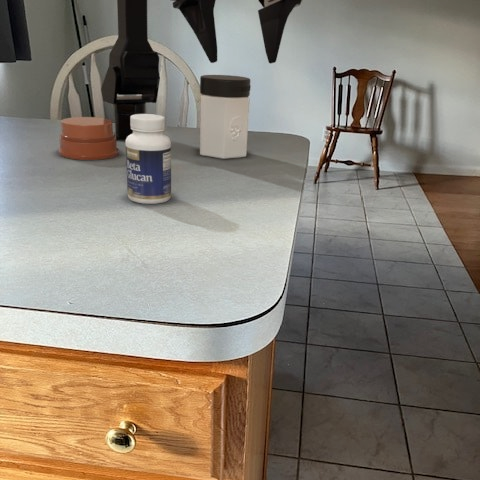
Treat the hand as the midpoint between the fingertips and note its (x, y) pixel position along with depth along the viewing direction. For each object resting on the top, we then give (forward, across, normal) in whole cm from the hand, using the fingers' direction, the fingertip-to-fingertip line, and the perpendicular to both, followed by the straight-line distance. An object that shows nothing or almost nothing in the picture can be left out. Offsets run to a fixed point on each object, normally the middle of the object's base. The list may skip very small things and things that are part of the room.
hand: (244, 62), depth 69 cm
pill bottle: (+16, -15, +2) cm, 21 cm away
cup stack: (+9, -12, +28) cm, 32 cm away
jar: (+11, +9, +20) cm, 25 cm away
